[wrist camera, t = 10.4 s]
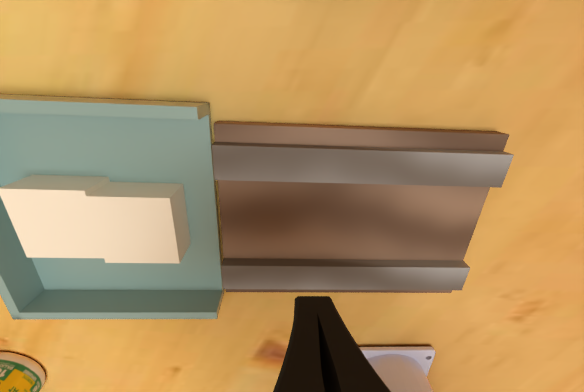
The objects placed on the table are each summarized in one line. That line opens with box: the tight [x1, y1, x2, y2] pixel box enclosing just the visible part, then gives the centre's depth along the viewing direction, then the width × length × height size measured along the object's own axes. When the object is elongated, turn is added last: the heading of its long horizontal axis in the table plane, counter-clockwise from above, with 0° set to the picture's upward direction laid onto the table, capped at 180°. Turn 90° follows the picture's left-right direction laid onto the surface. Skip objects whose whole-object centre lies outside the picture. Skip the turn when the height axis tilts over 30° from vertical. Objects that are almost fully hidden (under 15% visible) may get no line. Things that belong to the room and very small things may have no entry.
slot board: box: [212, 121, 514, 293], centre depth 18 cm, size 12×17×2 cm
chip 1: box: [0, 175, 110, 258], centre depth 16 cm, size 4×4×2 cm
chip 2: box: [86, 182, 191, 264], centre depth 16 cm, size 4×4×2 cm
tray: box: [0, 94, 224, 319], centre depth 17 cm, size 14×13×2 cm
